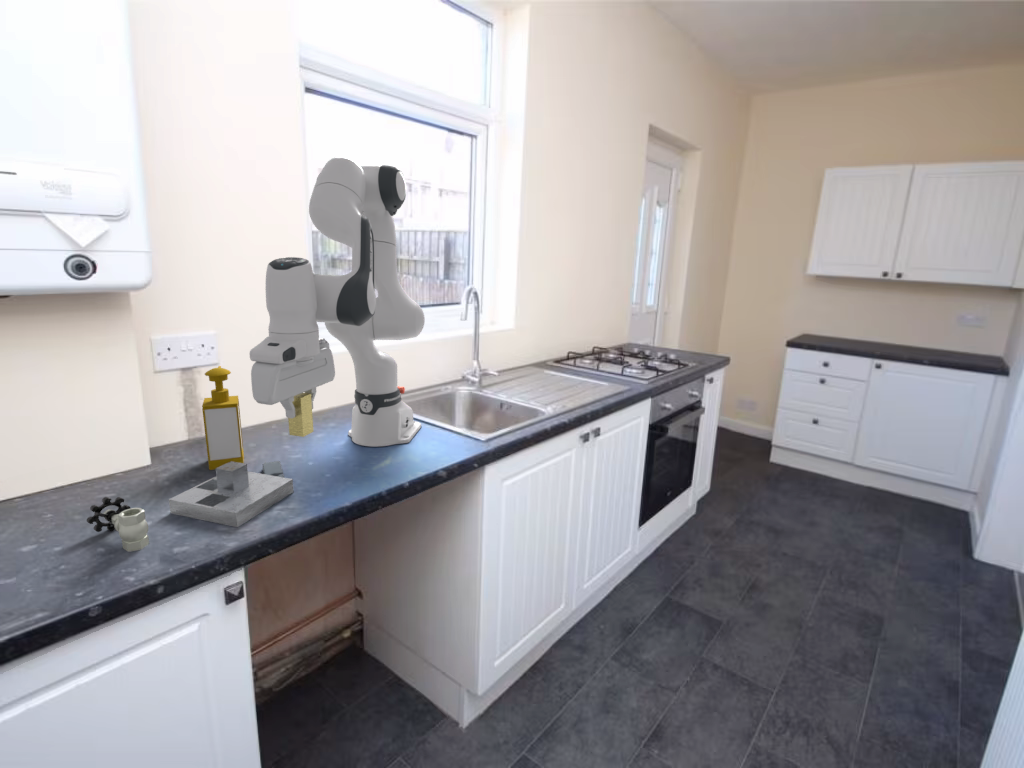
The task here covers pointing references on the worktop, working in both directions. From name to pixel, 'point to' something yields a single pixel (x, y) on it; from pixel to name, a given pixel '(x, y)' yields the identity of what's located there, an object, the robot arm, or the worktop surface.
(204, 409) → the soap bottle
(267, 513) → the worktop surface
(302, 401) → the yellow rectangular block
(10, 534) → the worktop surface
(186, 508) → the square plinth with cube
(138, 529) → the valve
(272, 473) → the bracket
